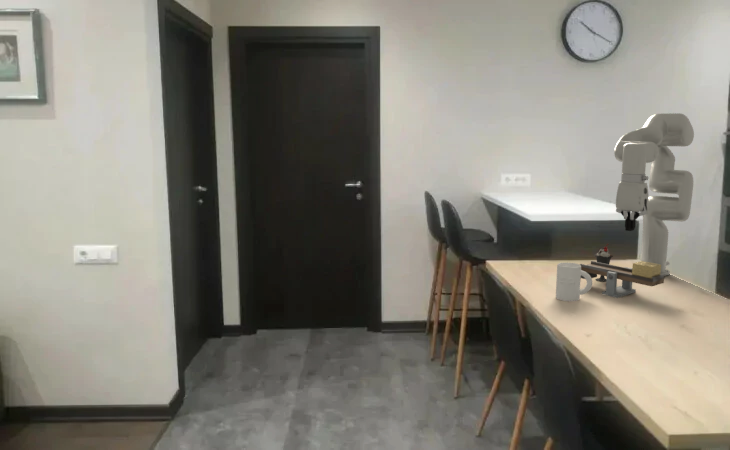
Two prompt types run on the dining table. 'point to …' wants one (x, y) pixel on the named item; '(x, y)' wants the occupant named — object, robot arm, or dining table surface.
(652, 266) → the block
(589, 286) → the mug
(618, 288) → the pivot stand
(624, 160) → the robot arm
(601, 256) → the sundae
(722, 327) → the dining table surface
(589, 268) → the beam
